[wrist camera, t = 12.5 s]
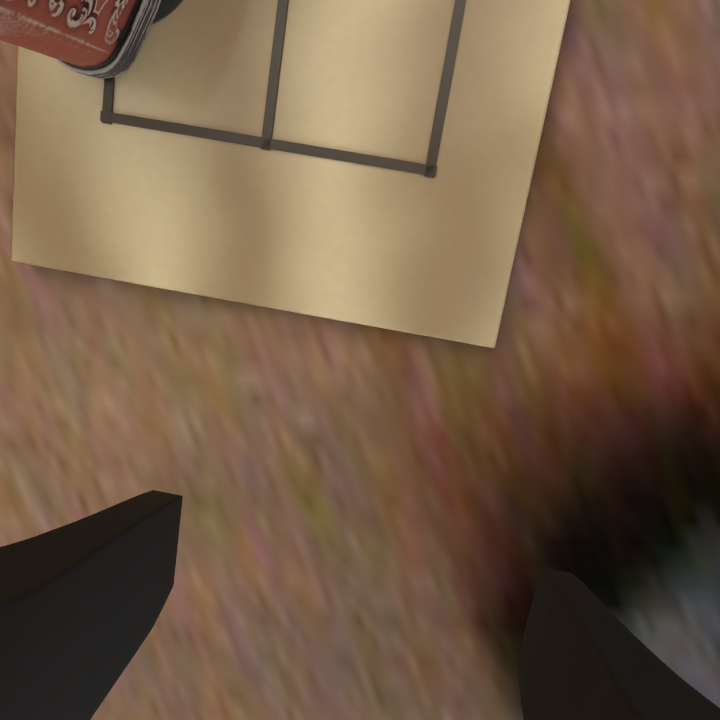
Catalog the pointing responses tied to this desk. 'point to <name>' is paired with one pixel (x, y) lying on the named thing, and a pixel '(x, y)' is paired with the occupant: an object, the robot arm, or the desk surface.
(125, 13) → the lighter
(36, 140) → the grid board
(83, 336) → the desk surface
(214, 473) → the desk surface
